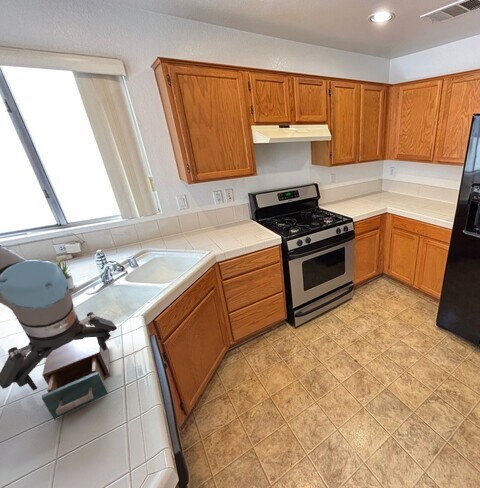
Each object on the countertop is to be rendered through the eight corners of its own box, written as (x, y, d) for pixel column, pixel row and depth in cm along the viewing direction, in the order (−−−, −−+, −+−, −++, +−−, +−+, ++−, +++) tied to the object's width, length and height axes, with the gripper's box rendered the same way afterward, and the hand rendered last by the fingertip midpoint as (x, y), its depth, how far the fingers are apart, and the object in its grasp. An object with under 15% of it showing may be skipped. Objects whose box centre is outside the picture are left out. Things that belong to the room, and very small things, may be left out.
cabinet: (110, 375, 83) (99, 352, 80) (56, 399, 76) (42, 374, 73) (108, 349, 95) (99, 327, 91) (61, 368, 87) (49, 345, 84)
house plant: (49, 288, 142) (36, 261, 137) (82, 279, 151) (71, 253, 145) (47, 298, 132) (33, 269, 127) (83, 287, 141) (71, 260, 135)
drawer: (108, 404, 73) (98, 383, 70) (52, 432, 66) (38, 410, 63) (106, 365, 87) (98, 346, 84) (59, 384, 80) (48, 365, 77)
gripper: (-40, 382, 42) (3, 419, 55) (130, 301, 61) (133, 342, 74) (-59, 349, 44) (-13, 392, 57) (112, 280, 63) (118, 324, 76)
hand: (70, 364), depth 65 cm, fingers open, 13 cm apart
